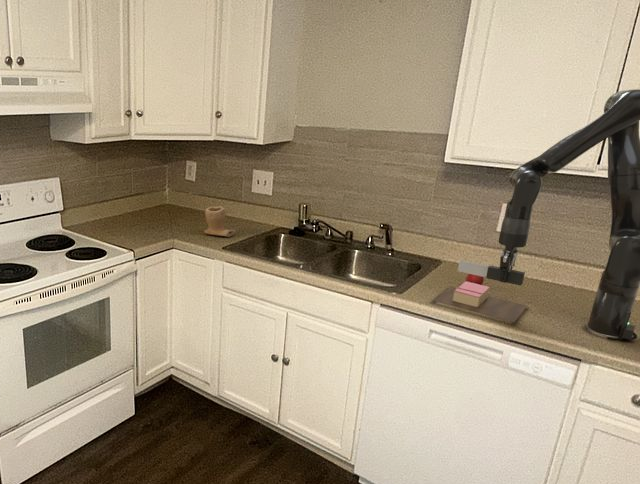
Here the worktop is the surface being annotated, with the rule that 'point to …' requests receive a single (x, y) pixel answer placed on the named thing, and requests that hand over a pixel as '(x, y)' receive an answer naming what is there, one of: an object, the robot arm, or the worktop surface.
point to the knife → (490, 272)
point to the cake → (476, 289)
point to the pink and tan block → (467, 297)
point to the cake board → (486, 306)
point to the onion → (474, 279)
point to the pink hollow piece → (217, 222)
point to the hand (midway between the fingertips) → (504, 280)
